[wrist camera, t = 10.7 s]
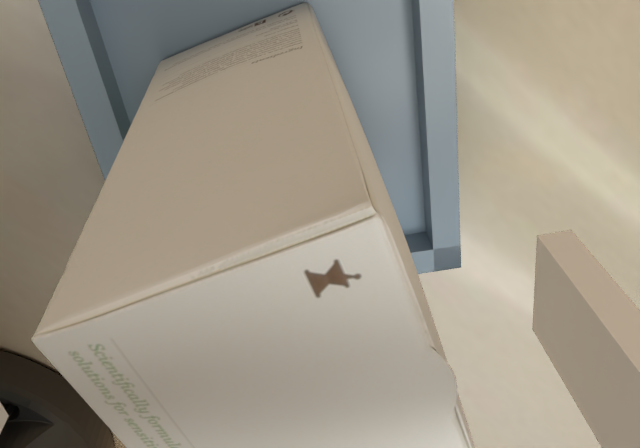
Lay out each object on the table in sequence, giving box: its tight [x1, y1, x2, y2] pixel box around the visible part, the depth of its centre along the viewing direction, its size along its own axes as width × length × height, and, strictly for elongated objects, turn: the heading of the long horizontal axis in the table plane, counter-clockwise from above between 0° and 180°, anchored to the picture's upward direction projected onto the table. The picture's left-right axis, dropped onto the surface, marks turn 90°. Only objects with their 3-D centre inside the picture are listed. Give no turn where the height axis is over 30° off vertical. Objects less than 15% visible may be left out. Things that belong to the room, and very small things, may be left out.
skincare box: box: [31, 3, 475, 448], centre depth 18 cm, size 8×7×16 cm
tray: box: [38, 0, 461, 274], centre depth 24 cm, size 14×15×2 cm
